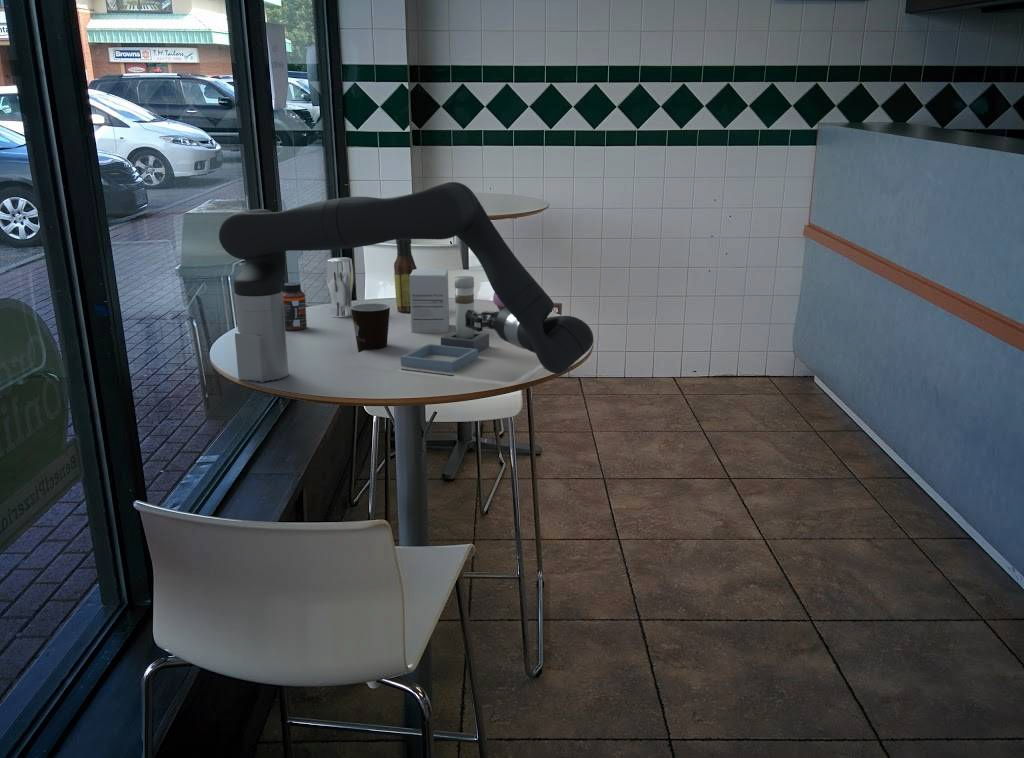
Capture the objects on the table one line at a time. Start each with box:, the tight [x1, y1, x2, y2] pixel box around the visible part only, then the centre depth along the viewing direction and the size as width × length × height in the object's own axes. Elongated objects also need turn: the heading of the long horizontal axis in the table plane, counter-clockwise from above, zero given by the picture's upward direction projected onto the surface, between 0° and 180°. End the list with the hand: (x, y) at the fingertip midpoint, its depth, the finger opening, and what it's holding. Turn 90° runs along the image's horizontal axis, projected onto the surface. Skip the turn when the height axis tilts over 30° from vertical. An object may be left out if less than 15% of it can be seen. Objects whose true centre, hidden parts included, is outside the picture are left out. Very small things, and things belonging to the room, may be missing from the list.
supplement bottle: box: [283, 282, 308, 331], centre depth 221 cm, size 6×6×11 cm
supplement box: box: [409, 268, 450, 334], centre depth 217 cm, size 9×9×15 cm
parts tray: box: [400, 343, 479, 377], centre depth 188 cm, size 12×12×3 cm
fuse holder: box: [440, 330, 490, 353], centre depth 198 cm, size 8×10×4 cm
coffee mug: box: [351, 302, 391, 353], centre depth 201 cm, size 12×9×10 cm
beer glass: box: [325, 256, 354, 318], centre depth 236 cm, size 7×7×15 cm
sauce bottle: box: [393, 239, 418, 313], centre depth 240 cm, size 7×6×20 cm
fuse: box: [454, 275, 475, 339], centre depth 197 cm, size 4×4×16 cm
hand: (487, 312), depth 186 cm, fingers open, 8 cm apart
